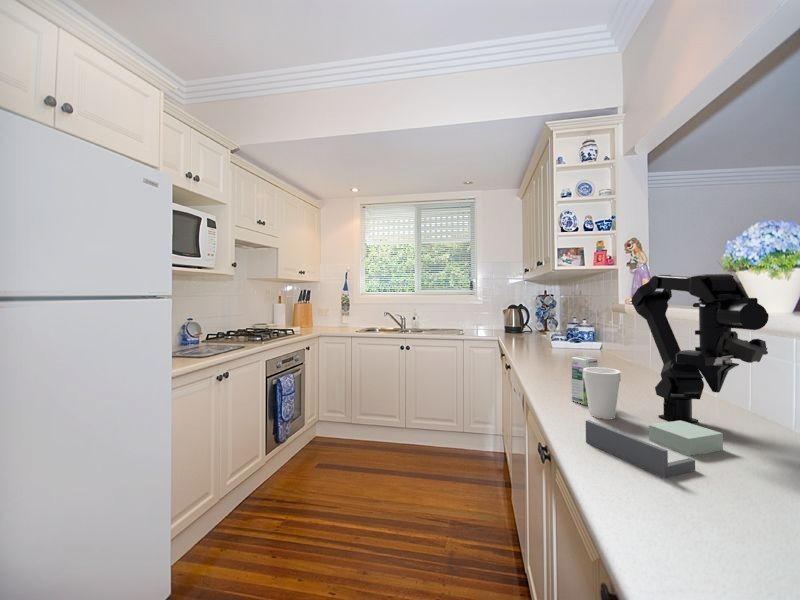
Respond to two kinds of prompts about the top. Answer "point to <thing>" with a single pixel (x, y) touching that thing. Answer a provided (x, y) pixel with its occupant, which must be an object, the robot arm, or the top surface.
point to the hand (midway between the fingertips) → (716, 392)
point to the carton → (686, 437)
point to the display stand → (636, 451)
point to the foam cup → (602, 391)
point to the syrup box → (580, 377)
